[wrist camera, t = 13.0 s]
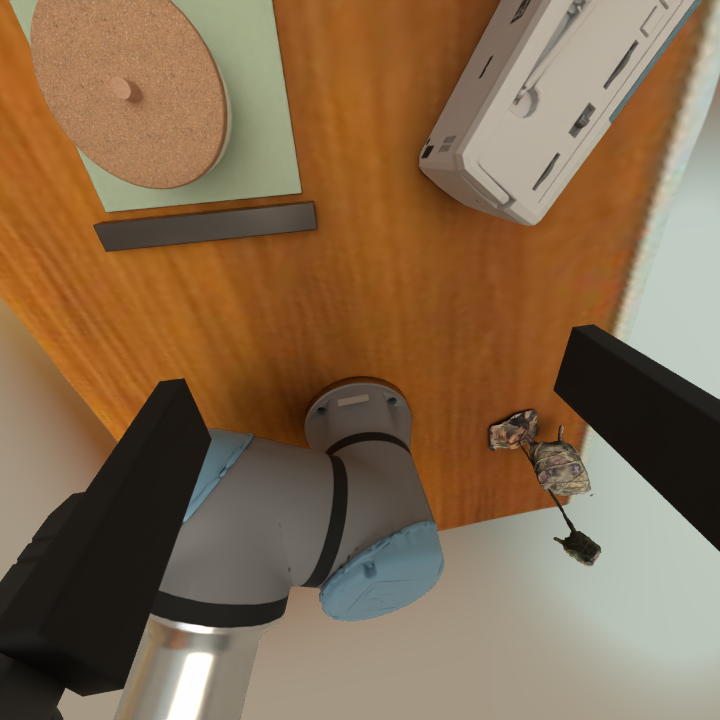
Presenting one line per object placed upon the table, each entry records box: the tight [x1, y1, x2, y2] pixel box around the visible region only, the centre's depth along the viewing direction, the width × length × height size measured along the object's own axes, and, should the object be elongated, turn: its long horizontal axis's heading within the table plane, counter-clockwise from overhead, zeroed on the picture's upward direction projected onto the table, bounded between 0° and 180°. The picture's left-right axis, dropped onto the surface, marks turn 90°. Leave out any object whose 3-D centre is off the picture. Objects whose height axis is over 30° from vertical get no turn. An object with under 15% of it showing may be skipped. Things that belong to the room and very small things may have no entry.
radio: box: [419, 0, 702, 226], centre depth 20 cm, size 21×8×20 cm, turn 152°
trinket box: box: [30, 0, 233, 189], centre depth 23 cm, size 11×11×9 cm
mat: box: [9, 0, 302, 212], centre depth 27 cm, size 14×18×1 cm
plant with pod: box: [489, 410, 601, 566], centre depth 45 cm, size 8×11×20 cm
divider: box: [93, 201, 317, 252], centre depth 31 cm, size 2×20×2 cm, turn 94°
